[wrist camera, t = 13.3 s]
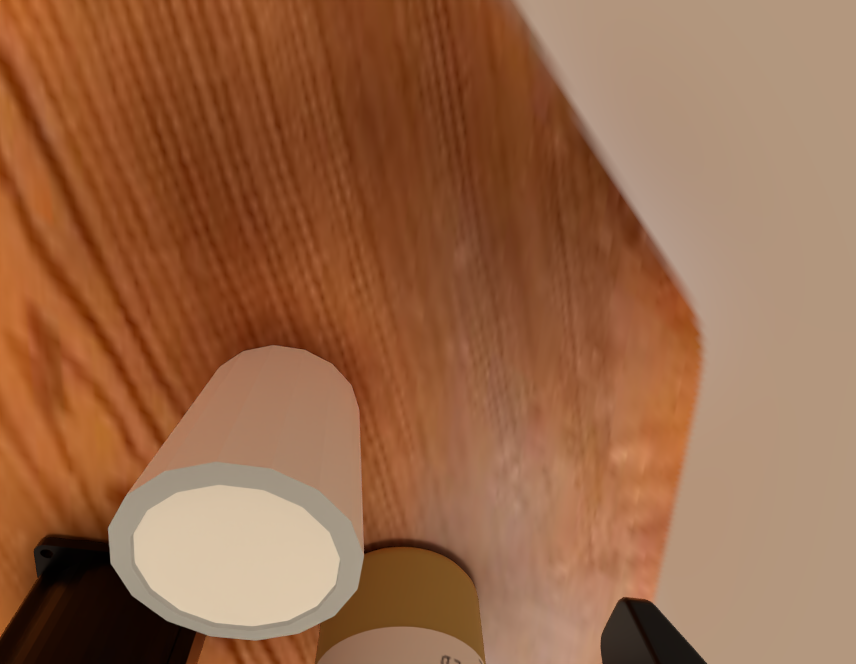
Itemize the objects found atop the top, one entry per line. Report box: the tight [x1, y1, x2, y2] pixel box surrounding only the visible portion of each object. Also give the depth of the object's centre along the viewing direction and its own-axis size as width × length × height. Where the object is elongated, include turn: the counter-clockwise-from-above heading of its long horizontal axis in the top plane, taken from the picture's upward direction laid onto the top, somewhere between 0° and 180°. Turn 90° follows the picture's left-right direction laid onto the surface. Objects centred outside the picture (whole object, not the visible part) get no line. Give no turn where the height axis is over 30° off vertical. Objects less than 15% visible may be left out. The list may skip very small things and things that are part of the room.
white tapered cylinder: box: [108, 345, 364, 640], centre depth 20 cm, size 7×7×7 cm
